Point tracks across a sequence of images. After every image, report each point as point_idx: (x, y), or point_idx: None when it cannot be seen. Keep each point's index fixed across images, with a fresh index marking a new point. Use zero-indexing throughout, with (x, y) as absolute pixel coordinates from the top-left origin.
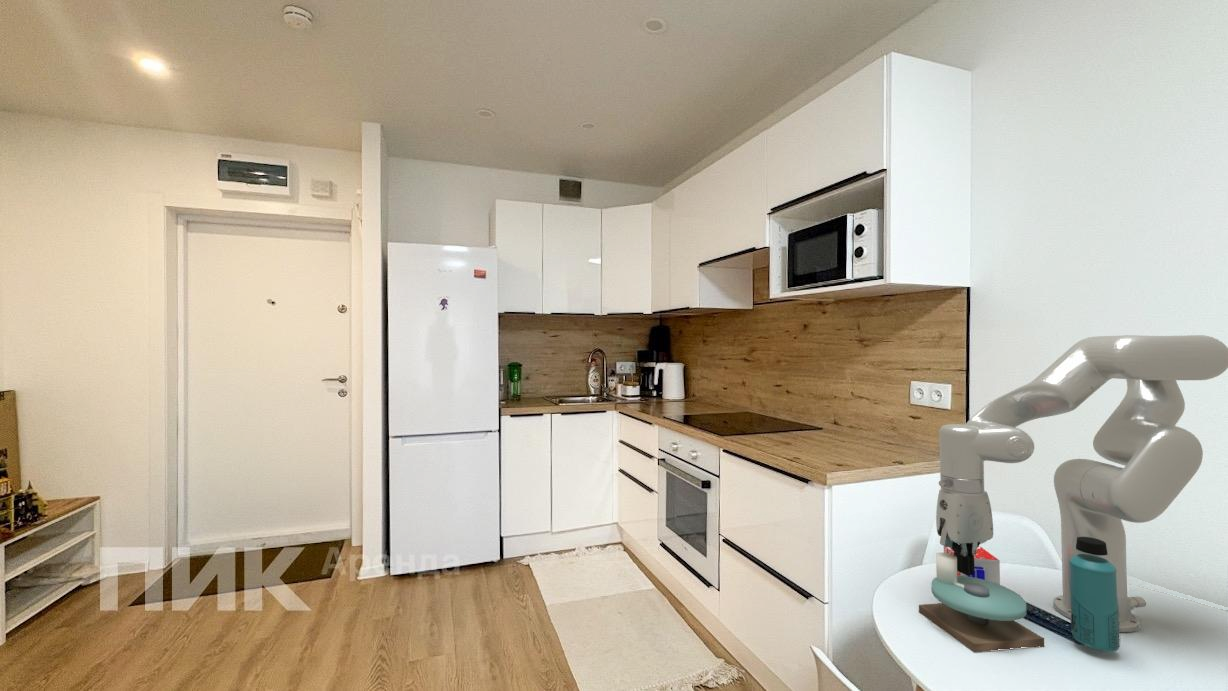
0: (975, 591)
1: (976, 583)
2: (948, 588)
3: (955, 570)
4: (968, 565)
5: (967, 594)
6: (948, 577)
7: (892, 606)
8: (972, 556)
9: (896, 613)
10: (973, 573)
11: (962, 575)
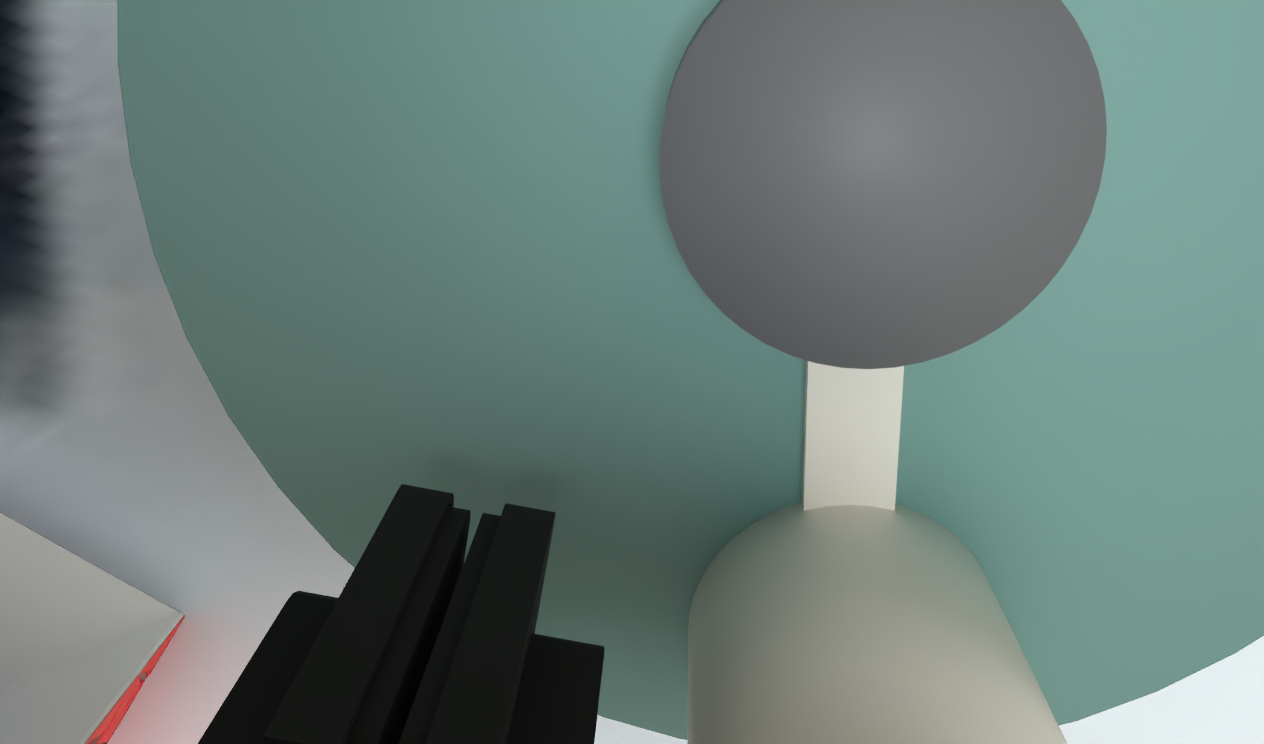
0: (1085, 67)
1: (697, 267)
2: (1149, 454)
3: (897, 640)
4: (513, 620)
5: (1110, 170)
6: (999, 611)
7: (1145, 732)
8: (326, 736)
9: (1261, 637)
10: (422, 493)
11: (37, 741)
